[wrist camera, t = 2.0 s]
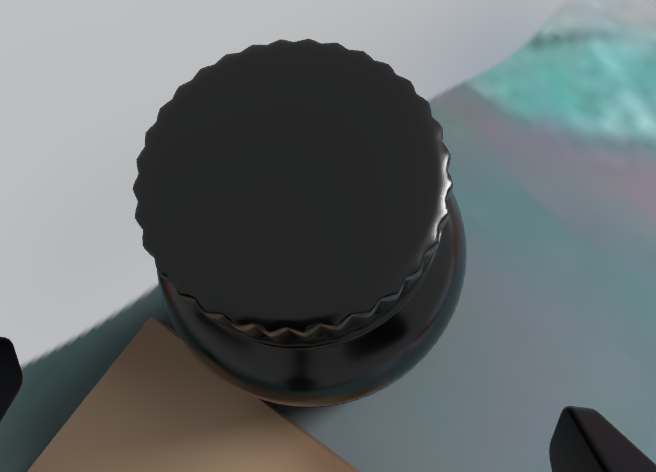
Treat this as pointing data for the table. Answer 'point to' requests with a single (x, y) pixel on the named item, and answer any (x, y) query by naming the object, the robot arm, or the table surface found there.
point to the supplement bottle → (302, 222)
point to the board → (178, 420)
